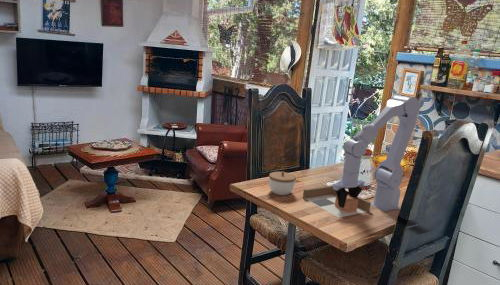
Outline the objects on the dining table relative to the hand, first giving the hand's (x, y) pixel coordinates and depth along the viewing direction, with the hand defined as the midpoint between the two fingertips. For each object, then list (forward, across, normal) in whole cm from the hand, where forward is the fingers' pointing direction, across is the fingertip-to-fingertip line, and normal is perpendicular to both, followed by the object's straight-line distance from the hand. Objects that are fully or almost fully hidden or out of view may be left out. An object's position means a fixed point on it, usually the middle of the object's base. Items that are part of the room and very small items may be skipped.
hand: (345, 205), depth 142 cm
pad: (+1, +4, -8) cm, 9 cm away
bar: (+1, 0, 0) cm, 1 cm away
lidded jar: (+2, +14, -22) cm, 27 cm away
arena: (+2, +1, -4) cm, 5 cm away
